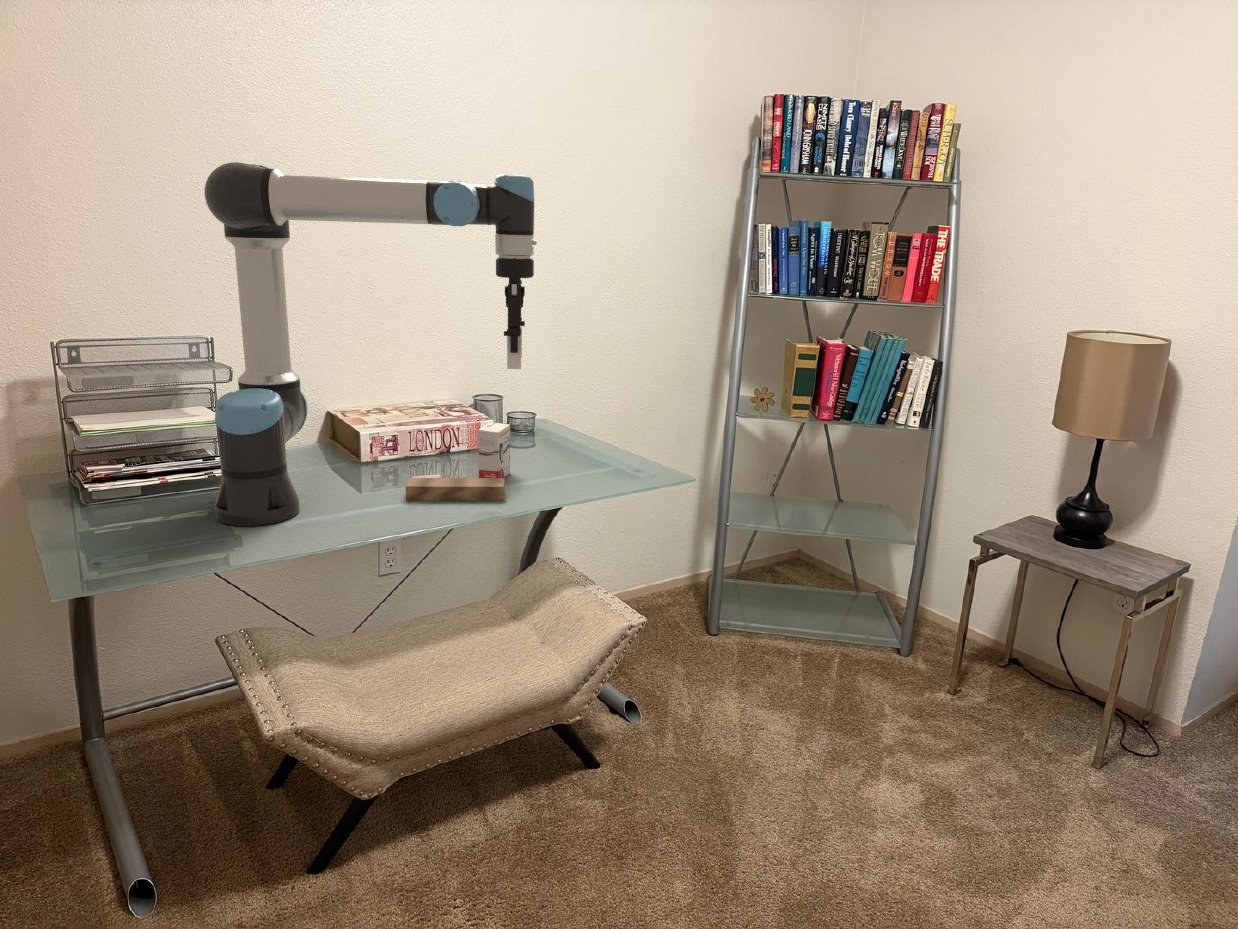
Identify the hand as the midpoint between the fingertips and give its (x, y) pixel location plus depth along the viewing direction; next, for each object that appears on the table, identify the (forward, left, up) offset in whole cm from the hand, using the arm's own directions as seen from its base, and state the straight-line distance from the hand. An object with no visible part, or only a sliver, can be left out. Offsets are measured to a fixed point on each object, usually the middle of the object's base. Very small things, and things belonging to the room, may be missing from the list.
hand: (514, 363), depth 178 cm
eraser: (-19, +6, -28) cm, 35 cm away
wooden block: (-12, -2, -28) cm, 31 cm away
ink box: (-5, +11, -28) cm, 31 cm away
